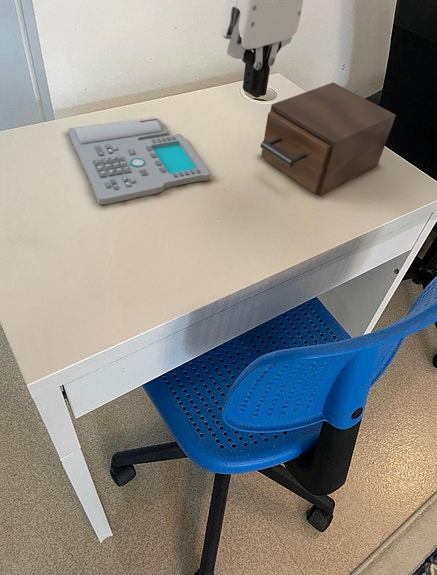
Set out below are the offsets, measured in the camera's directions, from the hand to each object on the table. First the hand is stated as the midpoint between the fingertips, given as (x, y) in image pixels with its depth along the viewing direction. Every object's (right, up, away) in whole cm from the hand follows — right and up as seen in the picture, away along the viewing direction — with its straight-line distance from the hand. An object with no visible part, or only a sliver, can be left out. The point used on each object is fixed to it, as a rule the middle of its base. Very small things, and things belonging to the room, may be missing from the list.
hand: (254, 92), depth 70 cm
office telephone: (-20, -4, +20) cm, 29 cm away
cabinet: (+14, -4, +24) cm, 28 cm away
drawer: (+11, -5, +21) cm, 25 cm away
